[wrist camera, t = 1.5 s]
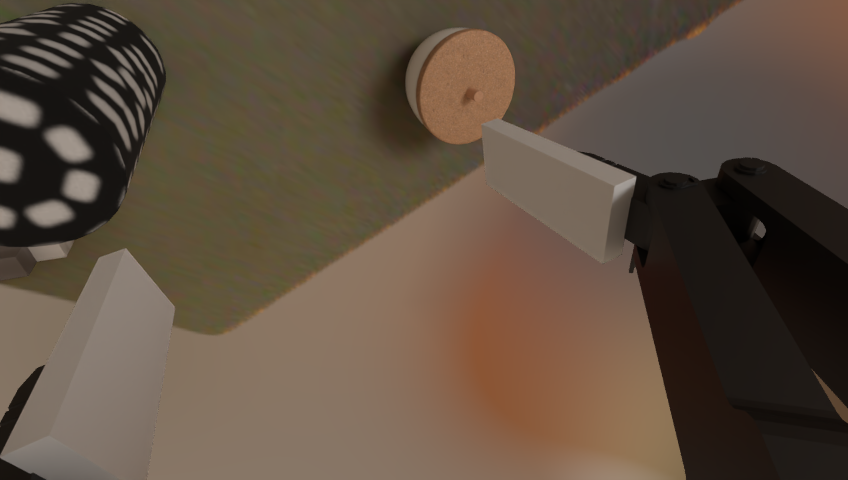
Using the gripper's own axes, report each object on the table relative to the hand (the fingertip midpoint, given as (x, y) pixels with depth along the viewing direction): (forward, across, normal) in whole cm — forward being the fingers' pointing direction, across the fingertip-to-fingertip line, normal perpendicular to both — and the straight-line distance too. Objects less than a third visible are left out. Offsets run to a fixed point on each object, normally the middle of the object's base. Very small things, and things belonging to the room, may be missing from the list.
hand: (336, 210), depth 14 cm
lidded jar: (+28, +18, -3) cm, 34 cm away
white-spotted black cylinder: (+28, -11, +5) cm, 31 cm away
